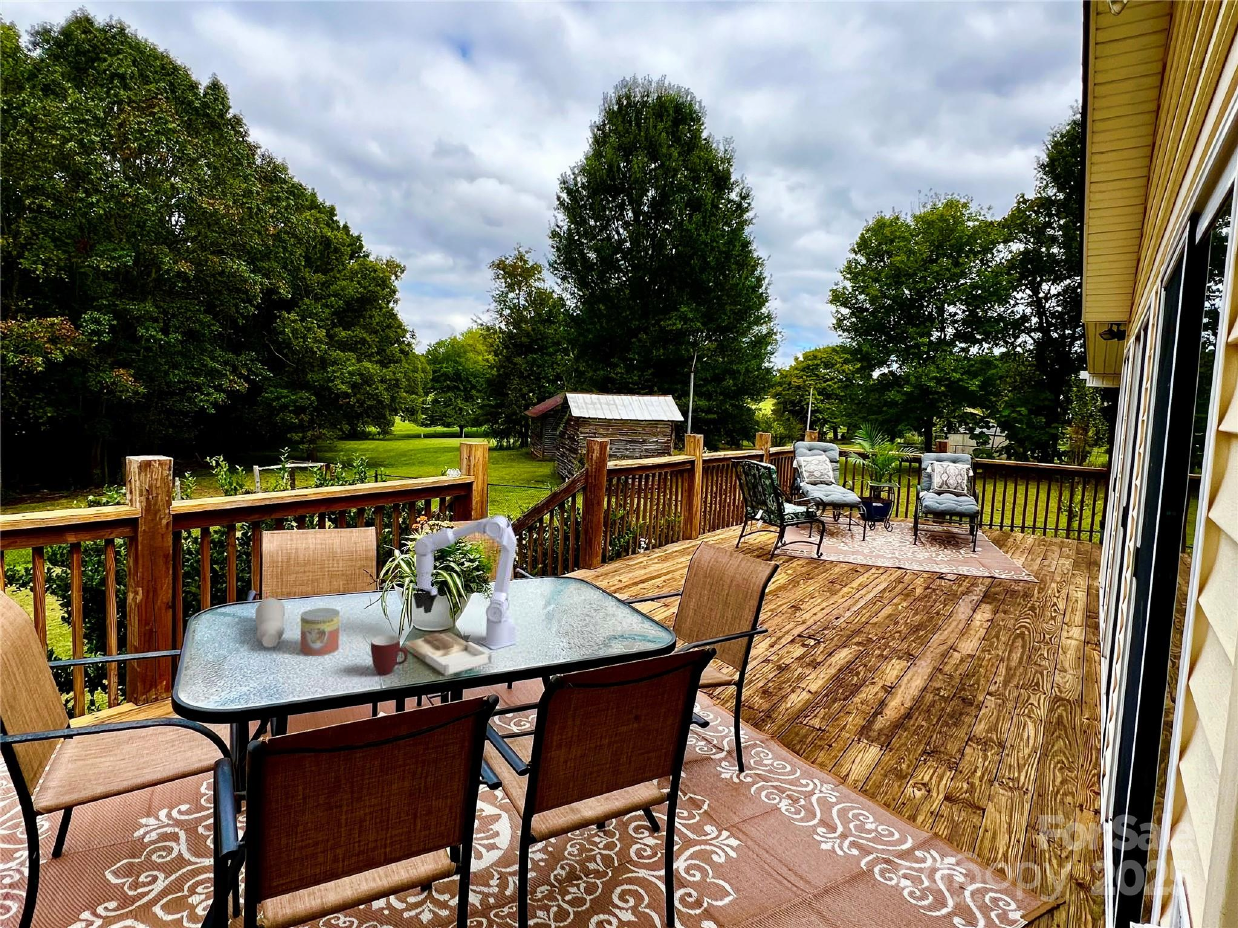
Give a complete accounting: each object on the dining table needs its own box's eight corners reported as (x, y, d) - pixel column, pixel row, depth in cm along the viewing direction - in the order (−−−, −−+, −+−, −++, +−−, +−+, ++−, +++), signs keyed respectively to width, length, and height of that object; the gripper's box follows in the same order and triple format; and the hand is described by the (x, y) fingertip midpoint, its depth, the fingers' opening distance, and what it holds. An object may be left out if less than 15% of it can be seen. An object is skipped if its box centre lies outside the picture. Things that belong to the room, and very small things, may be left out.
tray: (470, 650, 209) (470, 641, 209) (491, 662, 200) (491, 653, 200) (425, 662, 198) (425, 652, 198) (445, 675, 189) (445, 666, 189)
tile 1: (437, 637, 214) (437, 632, 214) (444, 641, 210) (444, 637, 210) (423, 640, 210) (423, 636, 210) (430, 645, 207) (431, 640, 207)
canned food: (296, 657, 196) (297, 620, 195) (304, 643, 207) (304, 608, 206) (335, 655, 199) (336, 618, 198) (341, 642, 210) (342, 607, 209)
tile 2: (446, 642, 210) (446, 638, 209) (453, 647, 206) (454, 642, 206) (432, 645, 206) (432, 641, 206) (439, 650, 202) (440, 646, 202)
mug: (408, 665, 195) (409, 634, 194) (406, 676, 187) (407, 644, 186) (371, 667, 192) (372, 635, 191) (368, 679, 184) (369, 645, 183)
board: (448, 637, 219) (449, 632, 219) (470, 650, 209) (470, 644, 209) (405, 648, 208) (405, 642, 208) (425, 661, 198) (425, 655, 198)
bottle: (249, 613, 222) (247, 646, 196) (266, 591, 224) (266, 621, 198) (274, 624, 227) (275, 658, 201) (290, 603, 228) (293, 634, 202)
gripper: (403, 568, 216) (402, 606, 218) (423, 578, 206) (422, 618, 207) (422, 565, 221) (421, 602, 222) (443, 574, 211) (442, 614, 212)
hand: (423, 610), depth 215 cm, fingers open, 5 cm apart
